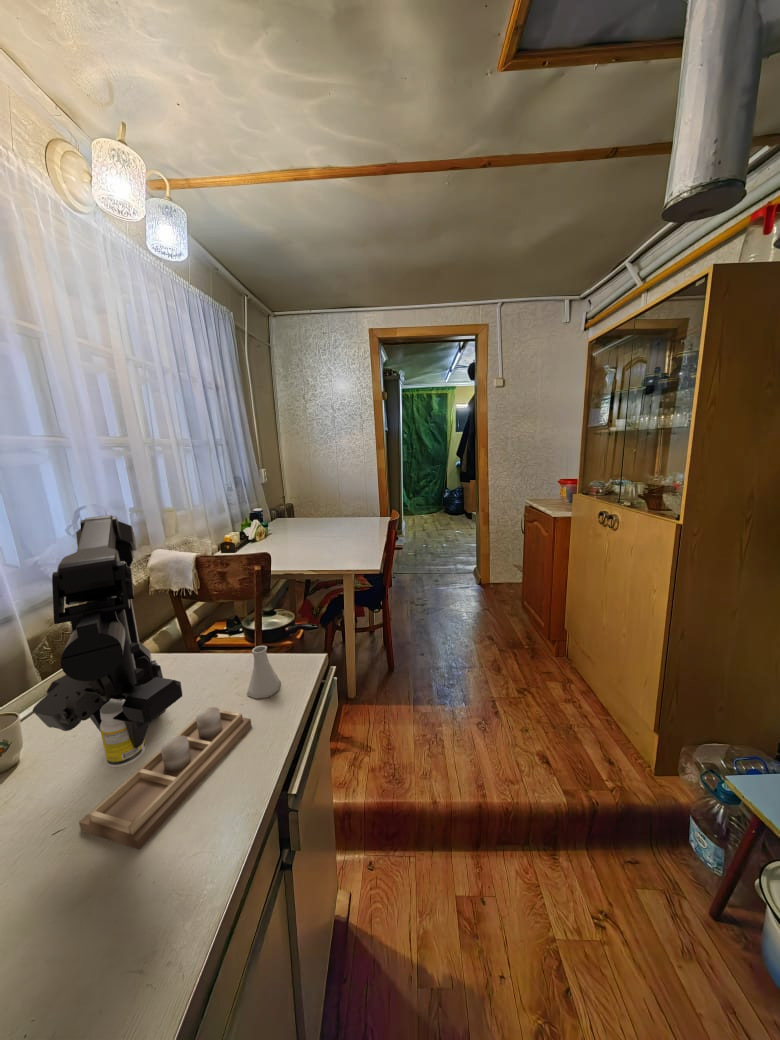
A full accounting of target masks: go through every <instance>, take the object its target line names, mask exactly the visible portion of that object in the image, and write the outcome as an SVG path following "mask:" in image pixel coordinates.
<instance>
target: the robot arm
mask: <svg viewBox="0 0 780 1040" xmlns="http://www.w3.org/2000/svg"><path fill="white" fill-rule="evenodd" d="M79 522H80V523H79V524H80V528H79V529H78V530H77V531H76V532H75V533H76V544H77V545H76V546H77V549H76V552H73V553H71V554H68V555H66V556H64V557H63V558H62V559H61V561H60V562H59V564H58V565H57V570H56V571H53V572H52V577H51V582H52V583H51V585H52V589H51V590H52V608H53V609H52V611H53V613H52V614H53V624H54V625H59V624H64V623H69V622H70V624H71V633H70V635H69V638H68V639H67V642H66V645H65V647H64V649H63V651H62V654H61V658H60V667H61V669H62V672H63V674H65V675H63V676H61V677H59V678H57V679H55V680H53V681H52V682H51V684H50V685H49V687H48V688H47V690H46V695H45V696H44V697H43V698H42V699H41V700H40V701H39V702H37V703H36V704H35V705H34V707H33V708H32V712H33V714H34V715H36V716H37V718H39V720H41V721H42V723H44V725H45V726H46V727H48V728H51V729H52V728H53V729H57V730H61V731H63V732H69V731H71V730H73V729H75V728H76V727H77V726H79V725H80V723H81V722H83V721H87V720H89V719H90V720H91V722H92V723H93V724H94V725H95V726H96V729H97V730H98V731H99V732H100V733H101V731H100V724H101V722H102V720H101V715H100V709H101V708H102V706H103V705H104V704H106V703H107V702H109V701H111V700H112V701H117V702H119V701H121V700H123V699H124V700H125V702H124V704H123V706H122V707H123V711H122V712H121V713H119V714H118V715H117V716H115V717H114V718H113V719H114V720H119V721H124V722H125V725H126V728H127V731H128V734H129V737H130V740H131V742H132V745H133V747H134V748H138V747H139V746H140V745H142V743H143V741H144V739H145V738H146V735H147V732H148V729H149V726H150V723H151V722H152V721H153V720H154V719H156V717H158V716H159V715H160V714H162V713H163V712H164V711H166V710H167V709H168V708H170V707H171V706H172V705H173V704H174V703H176V702H177V701H179V700H180V699H181V698H182V697H183V689H182V683H181V681H180V680H176V679H171V678H166V677H163V676H164V675H163V672H162V667H161V665H159V664H158V663H157V660H156V659H155V660H153V659H152V654H151V650H150V649H148V647H146V646H145V645H144V644H142V642H140V638H139V634H138V627H137V626H138V625H137V621H136V615H135V611H134V605H133V604H134V603H133V600H134V599H135V590H134V588H135V587H134V581H133V572H132V568H131V566H132V563H133V562H134V558H135V556H134V552H135V551H137V542H136V536H135V532H134V529H133V527H132V525H130V524H127V523H124V522H122V521H119V519H118V517H117V516H115V515H114V516H113V515H101V516H92V517H85V518H84V519H81V520H80V521H79ZM65 605H67V606H66V607H65Z"/></svg>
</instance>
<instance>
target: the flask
mask: <svg viewBox="0 0 780 1040" xmlns="http://www.w3.org/2000/svg"><path fill="white" fill-rule="evenodd" d="M267 650H268V646H266V645H257V646H255V647H253V648H252V650H251V654H252V655H253V669H252V674H251V677H250V680H249V685H248V689H247V693H246V696H248V697H251V698H252V699H253V698H254V699H263V698H270V697H271V696H273V695H274V694H275V693H277V692H278V691H279V690H280V687H281V683H282V681H281V680H280V677H278V675H277V674H276V672H275V670H274V668H273V666H272V664H271V663H270V660H269V658H268V654H267Z"/></svg>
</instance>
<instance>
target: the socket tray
mask: <svg viewBox="0 0 780 1040" xmlns="http://www.w3.org/2000/svg"><path fill="white" fill-rule="evenodd" d="M251 727H252V719H251V718H247V717H243V714H242V713H239V712H232V711H227V710H221V709H219V708H218V707H215V706H213V707H207V708H205V709H202V710H201V711H199V712H198V714H197V715H196V717H195V719H193V720H192V721H191V722H190V723H189V724H188V725H187V726H186V727H184V728H183V729H182V730H181V731H179V733H177V735H175V736H174V737H172V738H169V739H168V740H167V741H165V742H164V743H163V744H162V746H161V747H160V749H159V751H157V752H156V753H155V754H154V755H153V756H151V758H150V759H148V760H147V761H146V762H145V763H144V764H142V765H141V766H140V767H139V768H138V769H137V770H136V771H135V772H134V773H133V774H131V775H130V776H129V777H128V778H127V779H125V780H124V781H123V782H122V783H121V784H120V785H119V786H118V787H116V789H114V790H113V791H112V792H111V793H109V795H107V796H106V797H105V798H104V799H103V800H102V801H101V802H100V803H99V804H98V805H96V806H95V807H94V808H93V809H92V810H91V811H90V812H88V813H87V814H86V815H84V817H82V818H81V820H79V821H78V825H79V829H80V831H82V832H84V833H87V834H90V835H93V836H96V837H98V838H102V839H104V840H108V841H111V842H114V843H116V844H119V845H120V844H121V845H122V846H126V847H129V848H131V849H135V850H138V851H139V850H141V849H142V848H143V846H144V845H145V844H146V843H147V842H148V841H149V839H151V838H152V836H153V835H154V834H155V833H156V832H157V830H158V829H160V827H161V826H162V825H163V824H164V823H165V822H166V821H167V820H168V819H169V817H171V815H172V814H173V813H174V812H175V811H176V809H178V807H179V806H180V805H182V803H183V802H184V801H185V800H186V799H187V797H188V796H190V794H191V793H192V792H193V791H194V789H195V788H197V787H198V785H199V784H200V783H201V782H202V781H203V779H205V777H207V776H208V774H209V773H210V772H211V771H212V770H213V769H214V767H216V765H218V763H219V762H221V760H222V759H223V757H224V756H226V754H227V753H229V751H230V750H231V749H232V748H233V747H234V745H235V744H236V743H237V742H238V741H239V740H240V739H241V738H242V737H243V736H244V734H245V733H246V732H247V731H248V730H249V729H250V728H251Z"/></svg>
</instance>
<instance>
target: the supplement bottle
mask: <svg viewBox="0 0 780 1040" xmlns="http://www.w3.org/2000/svg"><path fill="white" fill-rule="evenodd" d="M124 702H125V700H124V699H123V700H121V701H119V702H117V701H112V700H111V701H109V702H107V703H106V704H104V705H103V706H102V708H101V709H100V715H101V720H102V722H101V724H100V731H101V732H100V731H99V732H100V735H101V739H102V743H103V749H104V754H105V758H106V762H107V764H108V766H110V767H112V768H118V767H123V766H128V765H129V764H131V763H133V762H134V761H136V760H138V759H139V758H140V757H141V756H142V755H143V753H145V749H146V741H145V738H144V741H143V743H142V745H140V746H139V747H138V748H134V747H133V745H132V742H131V740H130V737H129V734H128V731H127V728H126V725H125V722H124V721H119V720H114V719H113V718H114V717H115V716H117V715H118V714H119V713H121V712H122V711H123V707H122V706H123V704H124Z"/></svg>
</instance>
